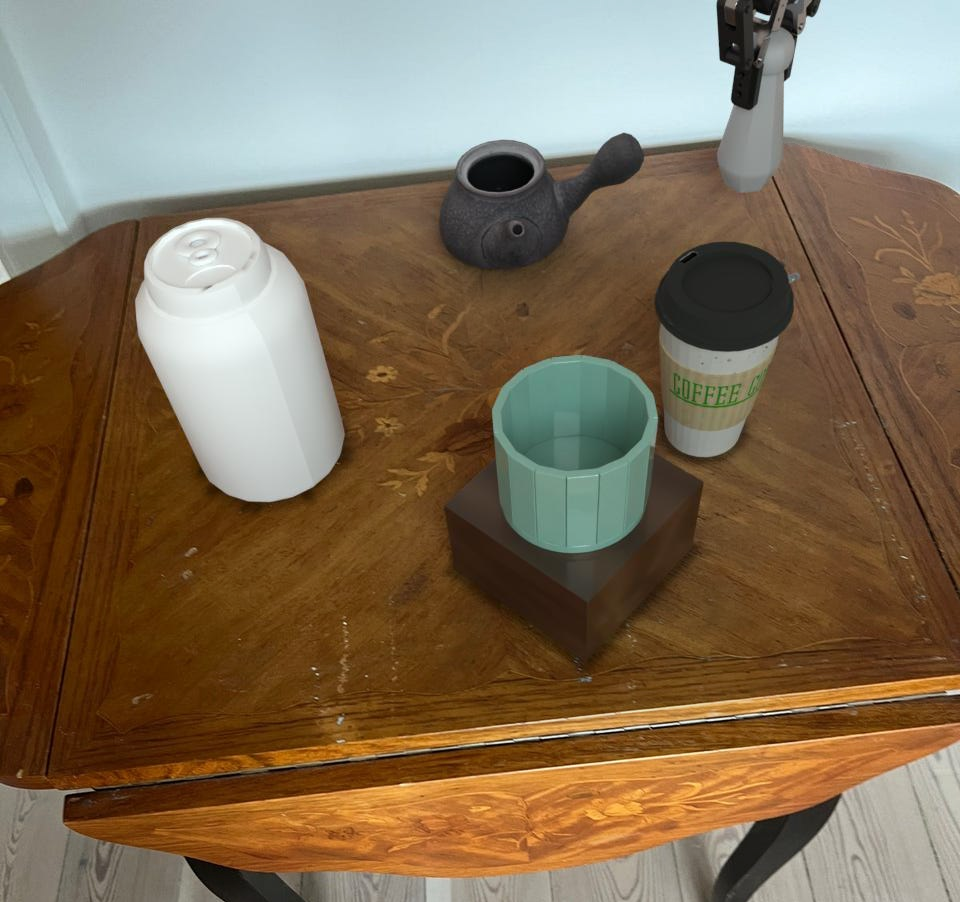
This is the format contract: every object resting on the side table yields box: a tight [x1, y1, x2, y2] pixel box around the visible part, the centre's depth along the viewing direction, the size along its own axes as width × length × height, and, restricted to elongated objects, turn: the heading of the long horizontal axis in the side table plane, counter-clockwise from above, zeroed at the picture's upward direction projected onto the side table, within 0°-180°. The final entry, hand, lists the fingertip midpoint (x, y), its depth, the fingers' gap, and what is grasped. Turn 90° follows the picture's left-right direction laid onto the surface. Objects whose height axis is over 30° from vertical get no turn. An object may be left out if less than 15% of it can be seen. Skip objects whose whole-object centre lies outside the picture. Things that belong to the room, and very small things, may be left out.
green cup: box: [491, 354, 659, 553], centre depth 67 cm, size 10×10×8 cm
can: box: [134, 217, 346, 503], centre depth 77 cm, size 12×12×20 cm
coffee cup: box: [653, 241, 795, 458], centre depth 77 cm, size 10×10×15 cm
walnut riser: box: [443, 452, 705, 663], centre depth 74 cm, size 13×13×8 cm
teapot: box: [438, 132, 645, 271], centre depth 92 cm, size 19×15×10 cm
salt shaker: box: [716, 27, 796, 194], centre depth 87 cm, size 6×6×13 cm
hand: (760, 90), depth 85 cm, fingers closed on salt shaker, 4 cm apart
